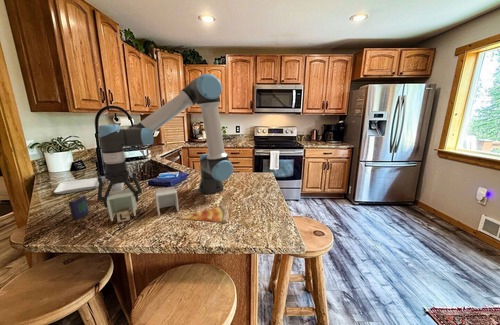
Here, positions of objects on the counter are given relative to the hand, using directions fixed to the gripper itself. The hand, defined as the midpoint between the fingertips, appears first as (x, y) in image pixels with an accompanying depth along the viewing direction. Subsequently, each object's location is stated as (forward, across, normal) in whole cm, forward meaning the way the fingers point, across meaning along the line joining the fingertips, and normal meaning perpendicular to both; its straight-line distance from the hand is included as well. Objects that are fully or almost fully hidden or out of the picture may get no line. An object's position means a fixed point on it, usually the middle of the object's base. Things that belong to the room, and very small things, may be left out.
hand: (123, 211), depth 90 cm
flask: (+4, -18, +14) cm, 23 cm away
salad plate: (+4, -28, +63) cm, 69 cm away
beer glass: (+4, -4, +30) cm, 30 cm away
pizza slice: (+5, +35, -14) cm, 38 cm away
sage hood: (+1, 0, 0) cm, 1 cm away
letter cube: (+4, 0, 0) cm, 4 cm away
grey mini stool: (+4, +18, 0) cm, 18 cm away
